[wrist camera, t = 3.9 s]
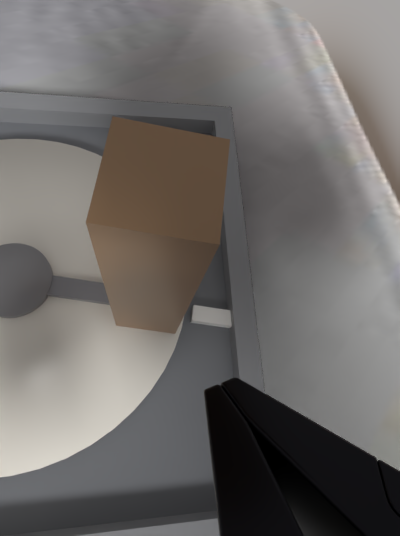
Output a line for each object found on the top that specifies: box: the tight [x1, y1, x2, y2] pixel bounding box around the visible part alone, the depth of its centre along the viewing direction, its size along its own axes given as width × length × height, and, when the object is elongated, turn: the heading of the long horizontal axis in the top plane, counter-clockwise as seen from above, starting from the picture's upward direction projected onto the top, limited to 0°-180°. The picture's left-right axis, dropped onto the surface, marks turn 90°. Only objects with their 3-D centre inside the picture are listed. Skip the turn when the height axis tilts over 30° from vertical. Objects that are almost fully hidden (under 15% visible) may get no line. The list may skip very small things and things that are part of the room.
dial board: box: [0, 91, 265, 536], centre depth 16 cm, size 20×20×2 cm
